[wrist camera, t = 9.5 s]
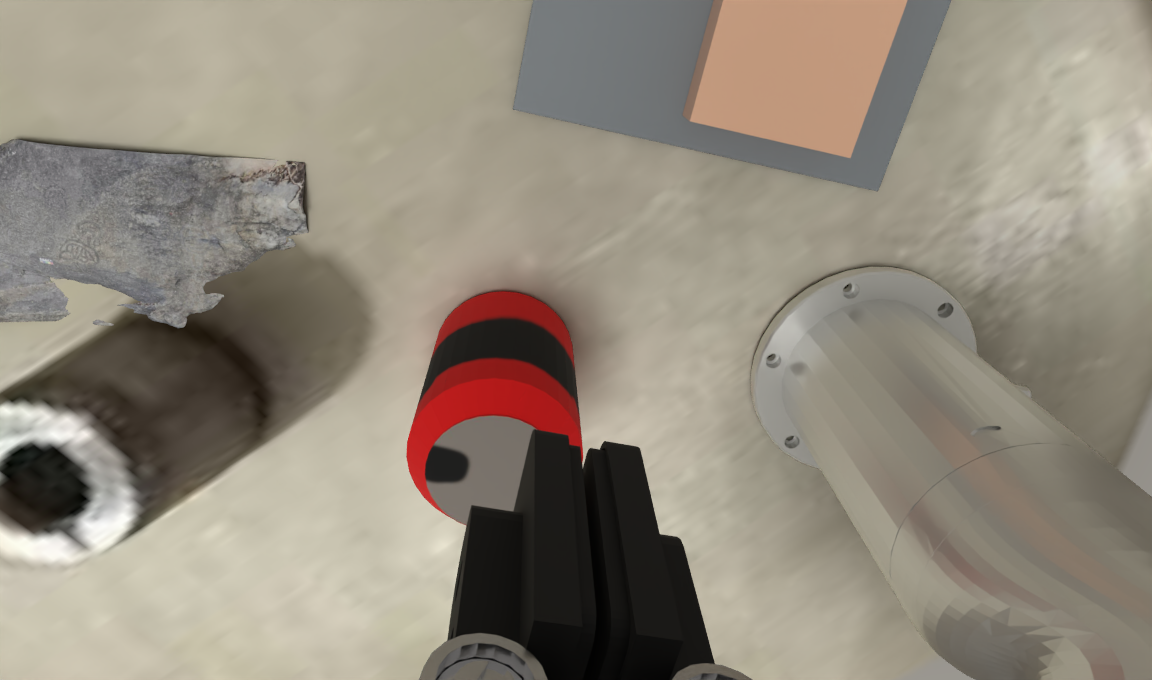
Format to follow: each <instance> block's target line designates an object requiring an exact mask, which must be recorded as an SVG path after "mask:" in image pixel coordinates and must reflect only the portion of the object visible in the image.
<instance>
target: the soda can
mask: <svg viewBox="0 0 1152 680" xmlns="http://www.w3.org/2000/svg"><path fill="white" fill-rule="evenodd" d="M534 429H536V430H542V431H547V432H553V433H559V434H565V435H568V436H569V445H575V446H580V448H581V457H582V461H583V448H582V437H581V427H580V417H579V407H578V397H577V387H576V377H575V367H574V358H573V348H572V342H571V339H570V335H569V332H568V330H567V329H566V327H565V325H564V323H563V321H562V320H561V319H560V318H559V317H558V315H557V314H556V313H555V312H554V311H553V310H552V309H550V308H549V307H548V306H547V305H545V304H544V303H543V302H541V301H539V300H537V299H535V298H533V297H531V296H527V295H524V294H520V293H515V292H506V291H501V292H490V293H486V294H482V295H479V296H476V297H474V298H472V299H470V300H468V301H466V302H464V303H463V304H461V305H460V306H459V307H457V308H456V309H455V310H454V311H453V312H452V313H451V314H450V315H449V316H448V318H447V319H446V320H445V322H444V323H443V325H442V327H441V329H440V331H439V334H438V338H437V341H436V344H435V348H434V351H433V355H432V358H431V362H430V365H429V369H428V372H427V375H426V379H425V382H424V386H423V389H422V393H421V396H420V400H419V403H418V406H417V410H416V413H415V417H414V420H413V424H412V427H411V431H410V434H409V438H408V441H407V462H408V467H409V472H410V474H411V476H412V479H413V481H414V483H415V485H416V487H417V488H418V490H419V491H420V492H421V494H422V495H423V497H424V498H425V499H426V500H427V501H428V502H429V503H430V504H432V505H433V506H434V507H435V508H436V509H437V510H439V511H441V512H442V513H444V514H445V515H447V516H448V517H450V518H452V519H454V520H456V521H457V522H459V523H462V524H464V525H466V526H467V522H468V517H469V512H470V508H471V506H472V505H474V506H481V507H487V508H494V509H500V510H506V511H514V506H515V502H516V498H517V493H518V489H519V485H520V480H521V476H522V472H523V468H524V463H525V459H526V455H527V450H528V446H529V442H530V438H531V434H532V431H533V430H534Z"/></svg>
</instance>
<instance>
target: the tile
mask: <svg viewBox="0 0 1152 680" xmlns="http://www.w3.org/2000/svg"><path fill="white" fill-rule="evenodd" d="M907 1H908V0H713V4H712V8H711V11H710V15H709V19H708V22H707V26H706V30H705V33H704V37H703V41H702V44H701V48H700V52H699V56H698V59H697V63H696V67H695V70H694V74H693V78H692V81H691V85H690V89H689V92H688V96H687V100H686V103H685V107H684V111H683V116H684V117H685V118H686V119H688V120H689V121H691V122H695V123H699V124H704V125H708V126H712V127H717V128H721V129H725V130H730V131H734V132H739V133H743V134H747V135H752V136H756V137H760V138H765V139H769V140H773V141H778V142H782V143H786V144H791V145H795V146H800V147H804V148H808V149H813V150H817V151H821V152H826V153H830V154H834V155H839V156H843V157H847V158H851V155H852V152H853V149H854V147H855V144H856V141H857V138H858V136H859V133H860V130H861V127H862V125H863V122H864V119H865V116H866V114H867V111H868V108H869V105H870V103H871V100H872V97H873V94H874V92H875V89H876V86H877V83H878V81H879V78H880V75H881V72H882V70H883V67H884V64H885V61H886V58H887V56H888V53H889V50H890V47H891V45H892V42H893V39H894V36H895V34H896V31H897V28H898V25H899V23H900V20H901V17H902V14H903V12H904V9H905V6H906V3H907Z"/></svg>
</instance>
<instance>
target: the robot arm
mask: <svg viewBox="0 0 1152 680" xmlns="http://www.w3.org/2000/svg"><path fill="white" fill-rule="evenodd" d="M848 284H849V286H848V287H847V288H846V289H844V287H845V286H846V285H848ZM939 306H940V307H939ZM771 354H773V355H772V356H771V357H769V358H767V357H768V356H769V355H771ZM751 396H752V400H753V404H754V408H755V412H756V414H757V416H758V418H759V420H760V422H761V424H762V426H763V428H764V429H765V431H766V432H767V434H768V435H769V437H770V439H771V440H772V441H773V442H774V443H775V444H776V445H777V446H778V447H779V448H780V449H781V450H782V451H783V452H784V453H786V454H787V455H789V456H791V457H792V458H794V459H795V460H797V461H799V462H801V463H803V464H806V465H809V466H811V467H814V468H817V469H821V471H822V473H823V474H824V476H825V478H826V480H827V481H828V483H829V485H830V486H831V488H832V490H833V491H834V493H835V495H836V496H837V498H838V500H839V501H840V503H841V505H842V506H843V508H844V510H845V511H846V513H847V515H848V516H849V518H850V520H851V521H852V523H853V525H854V526H855V528H856V530H857V531H858V533H859V535H860V536H861V538H862V540H863V541H864V543H865V545H866V546H867V548H868V550H869V552H870V553H871V555H872V557H873V558H874V560H875V562H876V563H877V565H878V567H879V568H880V570H881V572H882V573H883V575H884V577H885V578H886V580H887V582H888V583H889V585H890V587H891V588H892V590H893V592H894V593H895V595H896V597H897V599H898V601H899V602H900V604H901V606H902V607H903V609H904V611H905V612H906V614H907V616H908V617H909V619H910V621H911V622H912V624H913V625H914V627H915V628H916V629H917V631H918V632H919V633H920V635H921V636H922V638H923V639H924V640H925V641H926V642H927V643H928V644H929V645H930V646H931V648H932V649H933V650H934V651H935V652H936V653H937V654H938V655H939V656H941V657H942V658H943V659H944V660H946V661H947V662H948V663H950V664H951V665H952V666H954V667H955V668H956V669H958V670H959V671H961V672H962V673H964V674H966V675H967V676H969V677H971V678H973V679H975V680H1152V497H1151V496H1150V495H1149V494H1147V493H1146V492H1145V491H1144V490H1142V489H1141V488H1140V487H1139V486H1137V485H1136V484H1135V483H1134V482H1132V481H1131V480H1130V479H1129V478H1127V477H1126V476H1125V475H1124V474H1123V473H1121V472H1120V471H1119V470H1118V469H1116V468H1115V467H1114V466H1113V465H1112V464H1110V463H1109V462H1108V461H1107V460H1105V459H1104V458H1103V457H1102V456H1101V455H1099V454H1098V453H1097V452H1096V451H1094V450H1093V449H1092V448H1091V447H1090V446H1088V445H1087V444H1086V443H1085V442H1083V441H1082V440H1081V439H1080V438H1079V437H1077V436H1076V435H1075V434H1074V433H1072V432H1071V431H1070V430H1069V429H1068V428H1066V427H1065V426H1064V425H1063V424H1061V423H1060V422H1059V421H1058V420H1057V419H1055V418H1054V417H1053V416H1052V415H1050V414H1049V413H1048V412H1047V411H1046V410H1044V409H1043V408H1042V407H1041V406H1039V405H1038V404H1037V403H1036V402H1035V401H1033V400H1032V399H1031V391H1030V390H1029V388H1028V387H1025V386H1021V385H1015V384H1013V383H1011V382H1010V381H1009V380H1008V379H1006V378H1005V377H1004V376H1003V375H1002V374H1000V373H999V372H998V371H997V370H995V369H994V368H993V367H992V366H991V365H989V364H988V363H987V362H986V361H984V360H983V359H982V358H981V357H980V356H978V354H977V344H976V336H975V333H974V330H973V327H972V324H971V321H970V318H969V317H968V315H967V314H966V312H965V311H964V309H963V308H962V306H961V304H960V303H959V302H958V301H957V300H956V299H955V298H954V297H953V296H952V295H951V294H950V293H949V292H947V291H946V290H945V289H944V288H942V287H941V286H939V285H938V284H937V283H935V282H934V281H932V280H931V279H929V278H926V277H924V276H922V275H920V274H917V273H915V272H913V271H908V270H904V269H899V268H894V267H865V268H859V269H853V270H848V271H845V272H842V273H839V274H836V275H833V276H830V277H827V278H825V279H823V280H822V281H820V282H818V283H816V284H814V285H812V286H811V287H809V288H807V289H805V290H804V291H803V292H802V293H800V294H799V295H798V296H796V297H795V298H794V299H793V300H791V301H790V302H789V303H788V304H787V305H786V306H785V307H784V308H783V309H782V310H781V311H780V313H779V314H778V315H777V316H776V317H775V318H774V319H773V321H772V322H771V324H770V325H769V327H768V328H767V330H766V332H765V333H764V335H763V336H762V338H761V341H760V343H759V346H758V348H757V350H756V353H755V355H754V360H753V365H752V370H751ZM419 680H752V679H751V678H749V677H747V676H746V675H744V674H743V673H741V672H739V671H736V670H734V669H731V668H728V667H726V666H723V665H716V664H715V663H714V659H713V655H712V652H711V648H710V644H709V640H708V636H707V633H706V629H705V625H704V621H703V618H702V614H701V610H700V606H699V603H698V599H697V595H696V591H695V588H694V584H693V580H692V576H691V573H690V569H689V565H688V561H687V557H686V554H685V550H684V546H683V544H682V542H681V540H680V539H679V538H678V537H674V536H668V535H661V534H659V530H658V525H657V521H656V516H655V512H654V508H653V503H652V499H651V494H650V490H649V486H648V481H647V477H646V473H645V468H644V464H643V459H642V455H641V451H640V448H639V447H636V446H630V445H624V444H618V443H612V442H606V441H604V442H603V444H602V446H601V448H600V450H599V449H593V448H590V449H589V450H588V452H587V456H586V459H585V463H584V466H583V467H582V457H581V448H580V446H575V445H569V436H568V435H565V434H559V433H553V432H547V431H542V430H536V429H534V430H533V431H532V434H531V438H530V442H529V446H528V450H527V455H526V459H525V463H524V468H523V472H522V476H521V480H520V485H519V489H518V493H517V498H516V502H515V506H514V511H506V510H500V509H494V508H487V507H481V506H474V505H472V506H471V508H470V512H469V517H468V522H467V526H466V531H465V536H464V541H463V546H462V551H461V556H460V562H459V567H458V573H457V578H456V584H455V591H454V597H453V604H452V611H451V618H450V625H449V633H448V640H447V641H446V642H444V643H443V644H442V645H441V646H440V647H438V648H437V649H436V650H435V651H433V652H432V654H431V655H430V657H429V659H428V660H427V662H426V664H425V665H424V667H423V670H422V673H421V676H420V678H419Z"/></svg>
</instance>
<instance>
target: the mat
mask: <svg viewBox="0 0 1152 680" xmlns="http://www.w3.org/2000/svg"><path fill="white" fill-rule="evenodd" d="M950 2H951V0H908V1H907V3H906V6H905V9H904V12H903V14H902V17H901V20H900V23H899V25H898V28H897V31H896V34H895V36H894V39H893V42H892V45H891V47H890V50H889V53H888V56H887V58H886V61H885V64H884V67H883V70H882V72H881V75H880V78H879V81H878V83H877V86H876V89H875V92H874V94H873V97H872V100H871V103H870V105H869V108H868V111H867V114H866V116H865V119H864V122H863V125H862V127H861V130H860V133H859V136H858V138H857V141H856V144H855V147H854V149H853V152H852V155H851V158H847V157H843V156H839V155H834V154H830V153H826V152H821V151H817V150H813V149H808V148H804V147H800V146H795V145H791V144H786V143H782V142H778V141H773V140H769V139H765V138H760V137H756V136H752V135H747V134H743V133H739V132H734V131H730V130H725V129H721V128H717V127H712V126H708V125H704V124H699V123H695V122H691V121H689V120H688V119H686V118H685V117H684V116H683V111H684V107H685V103H686V100H687V96H688V92H689V89H690V85H691V81H692V78H693V74H694V70H695V67H696V63H697V59H698V56H699V52H700V48H701V44H702V41H703V37H704V33H705V30H706V26H707V22H708V19H709V15H710V11H711V8H712V4H713V0H533V4H532V9H531V15H530V20H529V26H528V31H527V36H526V42H525V47H524V52H523V58H522V63H521V69H520V74H519V79H518V85H517V90H516V96H515V101H514V106H513V110H518V111H522V112H527V113H531V114H535V115H540V116H544V117H549V118H553V119H558V120H562V121H567V122H571V123H576V124H580V125H584V126H589V127H593V128H598V129H602V130H607V131H611V132H616V133H620V134H625V135H629V136H633V137H638V138H642V139H647V140H651V141H656V142H660V143H665V144H669V145H673V146H678V147H682V148H687V149H691V150H696V151H700V152H705V153H709V154H714V155H718V156H722V157H727V158H731V159H736V160H740V161H745V162H749V163H754V164H758V165H763V166H767V167H771V168H776V169H780V170H785V171H789V172H794V173H798V174H803V175H807V176H812V177H816V178H820V179H825V180H829V181H834V182H838V183H843V184H847V185H852V186H856V187H860V188H865V189H869V190H874V191H878V190H879V187H880V185H881V182H882V180H883V177H884V174H885V172H886V169H887V167H888V164H889V161H890V159H891V156H892V154H893V151H894V148H895V146H896V143H897V141H898V138H899V135H900V133H901V130H902V128H903V125H904V122H905V120H906V117H907V115H908V112H909V109H910V107H911V104H912V101H913V99H914V96H915V94H916V91H917V88H918V86H919V83H920V81H921V78H922V75H923V73H924V70H925V68H926V65H927V62H928V60H929V57H930V55H931V52H932V49H933V47H934V44H935V42H936V39H937V36H938V34H939V31H940V29H941V26H942V23H943V21H944V18H945V16H946V13H947V10H948V8H949V5H950Z"/></svg>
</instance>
